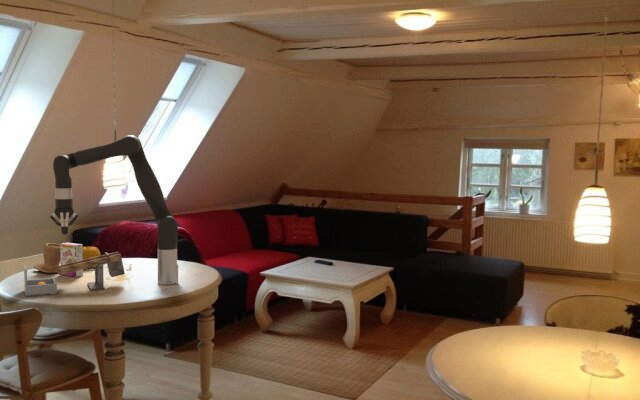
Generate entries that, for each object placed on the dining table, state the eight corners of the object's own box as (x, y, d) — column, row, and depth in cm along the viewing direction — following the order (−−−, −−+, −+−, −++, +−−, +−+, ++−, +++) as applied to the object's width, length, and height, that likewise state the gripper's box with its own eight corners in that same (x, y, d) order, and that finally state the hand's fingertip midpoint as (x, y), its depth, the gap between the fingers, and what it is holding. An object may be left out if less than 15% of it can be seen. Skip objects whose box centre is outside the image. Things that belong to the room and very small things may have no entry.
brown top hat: (68, 272, 307) (67, 244, 306) (45, 275, 298) (44, 246, 297) (55, 267, 317) (54, 240, 316) (32, 271, 308) (32, 242, 307)
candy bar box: (59, 275, 300) (59, 243, 299) (67, 273, 305) (67, 242, 303) (75, 277, 295) (75, 245, 294) (83, 275, 300) (83, 244, 298)
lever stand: (100, 283, 284) (100, 259, 282) (104, 289, 272) (104, 264, 271) (87, 284, 281) (87, 260, 280) (91, 290, 269) (90, 265, 268)
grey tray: (54, 287, 274) (54, 262, 273) (56, 293, 263) (56, 267, 262) (24, 290, 268) (23, 264, 267) (25, 296, 257) (24, 269, 255)
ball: (46, 281, 268) (37, 280, 266) (47, 283, 264) (37, 282, 262) (45, 290, 268) (35, 289, 266) (45, 292, 264) (36, 291, 262)
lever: (119, 268, 291) (115, 247, 289) (124, 274, 279) (120, 252, 277) (59, 283, 278) (54, 261, 276) (62, 290, 266) (57, 267, 264)
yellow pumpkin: (70, 267, 320) (70, 246, 319) (93, 264, 329) (93, 243, 328) (82, 270, 311) (82, 249, 310) (105, 267, 321) (104, 246, 320)
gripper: (78, 196, 280) (78, 232, 282) (47, 197, 274) (48, 234, 275) (80, 198, 274) (80, 234, 275) (48, 198, 267) (49, 236, 269)
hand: (64, 234), depth 275 cm, fingers closed
